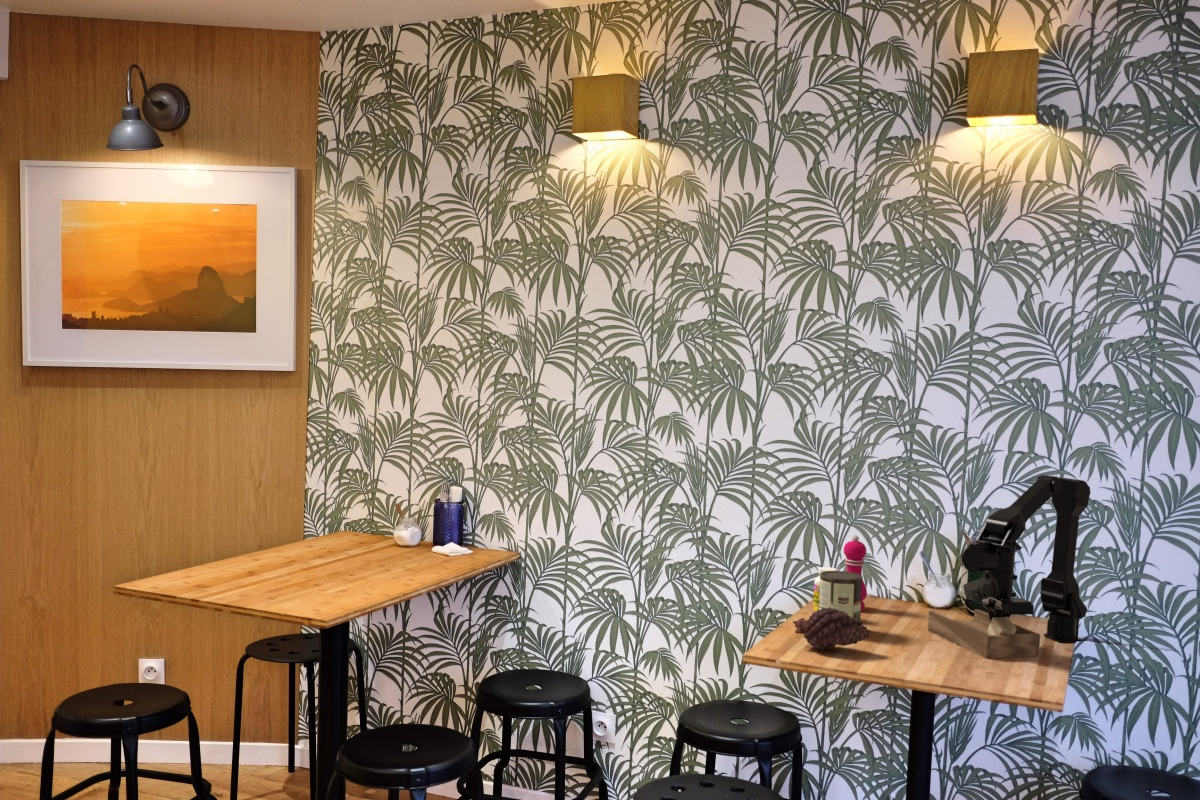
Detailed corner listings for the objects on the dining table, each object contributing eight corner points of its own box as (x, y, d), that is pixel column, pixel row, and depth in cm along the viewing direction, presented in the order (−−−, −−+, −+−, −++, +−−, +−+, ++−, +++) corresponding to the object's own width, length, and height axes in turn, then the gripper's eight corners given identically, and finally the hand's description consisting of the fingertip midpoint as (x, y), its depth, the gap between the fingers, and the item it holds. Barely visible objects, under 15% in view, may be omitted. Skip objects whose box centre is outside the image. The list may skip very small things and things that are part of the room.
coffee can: (844, 624, 267) (846, 569, 267) (868, 635, 258) (871, 578, 257) (809, 627, 264) (811, 571, 263) (833, 638, 254) (835, 580, 253)
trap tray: (976, 628, 267) (977, 609, 267) (1039, 655, 244) (1040, 634, 244) (927, 630, 264) (928, 611, 263) (986, 658, 240) (987, 636, 240)
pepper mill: (866, 612, 280) (870, 538, 280) (839, 610, 282) (842, 536, 281) (865, 606, 288) (868, 533, 287) (838, 604, 289) (841, 532, 288)
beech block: (1001, 631, 248) (1007, 616, 246) (1010, 643, 245) (1016, 628, 242) (986, 631, 247) (992, 617, 245) (995, 644, 244) (1001, 629, 241)
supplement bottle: (807, 615, 276) (809, 566, 275) (829, 613, 278) (831, 565, 278) (821, 621, 270) (823, 571, 269) (843, 620, 272) (845, 570, 271)
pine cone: (870, 649, 245) (872, 606, 245) (867, 660, 236) (869, 616, 235) (793, 640, 251) (795, 599, 250) (787, 651, 241) (789, 608, 241)
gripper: (947, 560, 254) (943, 623, 255) (994, 579, 236) (989, 647, 237) (988, 559, 257) (983, 622, 258) (1037, 578, 239) (1032, 645, 240)
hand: (995, 634), depth 248 cm, fingers closed
